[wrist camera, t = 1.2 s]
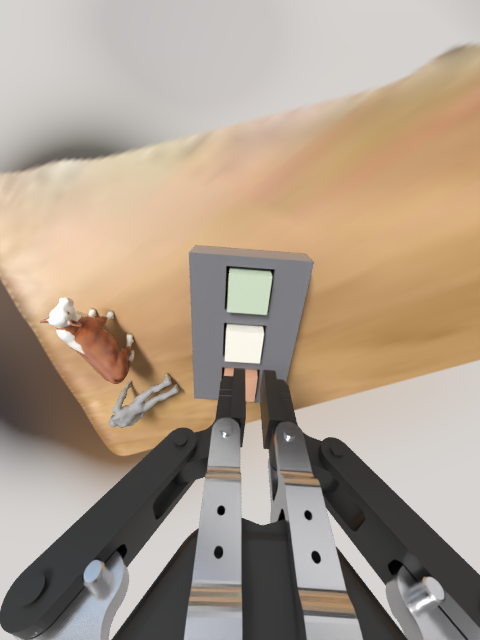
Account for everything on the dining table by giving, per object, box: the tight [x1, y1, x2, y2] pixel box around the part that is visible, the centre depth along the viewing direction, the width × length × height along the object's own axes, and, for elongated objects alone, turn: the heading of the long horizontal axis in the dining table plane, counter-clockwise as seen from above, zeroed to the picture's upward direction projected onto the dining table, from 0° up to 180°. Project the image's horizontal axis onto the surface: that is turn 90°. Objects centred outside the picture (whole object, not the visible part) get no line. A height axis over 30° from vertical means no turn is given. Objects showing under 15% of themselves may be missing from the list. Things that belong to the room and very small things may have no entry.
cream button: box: [225, 323, 264, 364], centre depth 31 cm, size 5×5×3 cm
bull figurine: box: [40, 297, 135, 384], centre depth 31 cm, size 4×13×8 cm, turn 18°
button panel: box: [189, 245, 314, 402], centre depth 33 cm, size 14×23×4 cm, turn 176°
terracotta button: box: [224, 368, 258, 402], centre depth 34 cm, size 5×5×3 cm
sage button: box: [227, 266, 272, 315], centre depth 27 cm, size 5×5×3 cm
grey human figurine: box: [109, 373, 180, 428], centre depth 39 cm, size 6×5×12 cm
